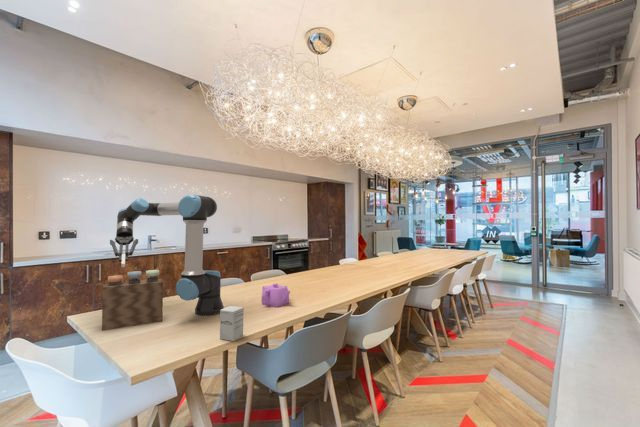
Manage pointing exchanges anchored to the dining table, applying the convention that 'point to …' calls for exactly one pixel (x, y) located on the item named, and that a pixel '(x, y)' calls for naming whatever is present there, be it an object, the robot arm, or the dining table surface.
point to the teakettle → (275, 295)
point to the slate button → (134, 275)
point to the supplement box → (231, 323)
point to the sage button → (152, 273)
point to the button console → (132, 303)
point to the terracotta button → (115, 278)
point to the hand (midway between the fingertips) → (123, 265)
